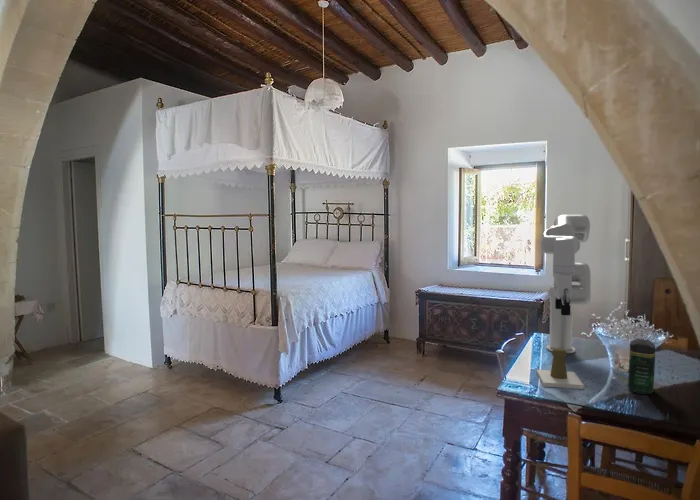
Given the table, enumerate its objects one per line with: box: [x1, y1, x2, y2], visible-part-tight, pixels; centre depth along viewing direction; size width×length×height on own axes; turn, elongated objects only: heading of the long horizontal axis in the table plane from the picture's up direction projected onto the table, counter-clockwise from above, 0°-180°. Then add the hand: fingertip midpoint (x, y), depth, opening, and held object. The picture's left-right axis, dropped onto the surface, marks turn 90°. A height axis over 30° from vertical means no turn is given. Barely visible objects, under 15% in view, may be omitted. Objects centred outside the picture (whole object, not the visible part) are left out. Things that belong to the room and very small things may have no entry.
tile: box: [536, 369, 585, 390], centre depth 172 cm, size 14×14×2 cm
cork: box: [550, 348, 568, 379], centre depth 173 cm, size 6×6×11 cm
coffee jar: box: [627, 338, 656, 395], centre depth 162 cm, size 10×8×19 cm
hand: (562, 311), depth 176 cm, fingers open, 9 cm apart
